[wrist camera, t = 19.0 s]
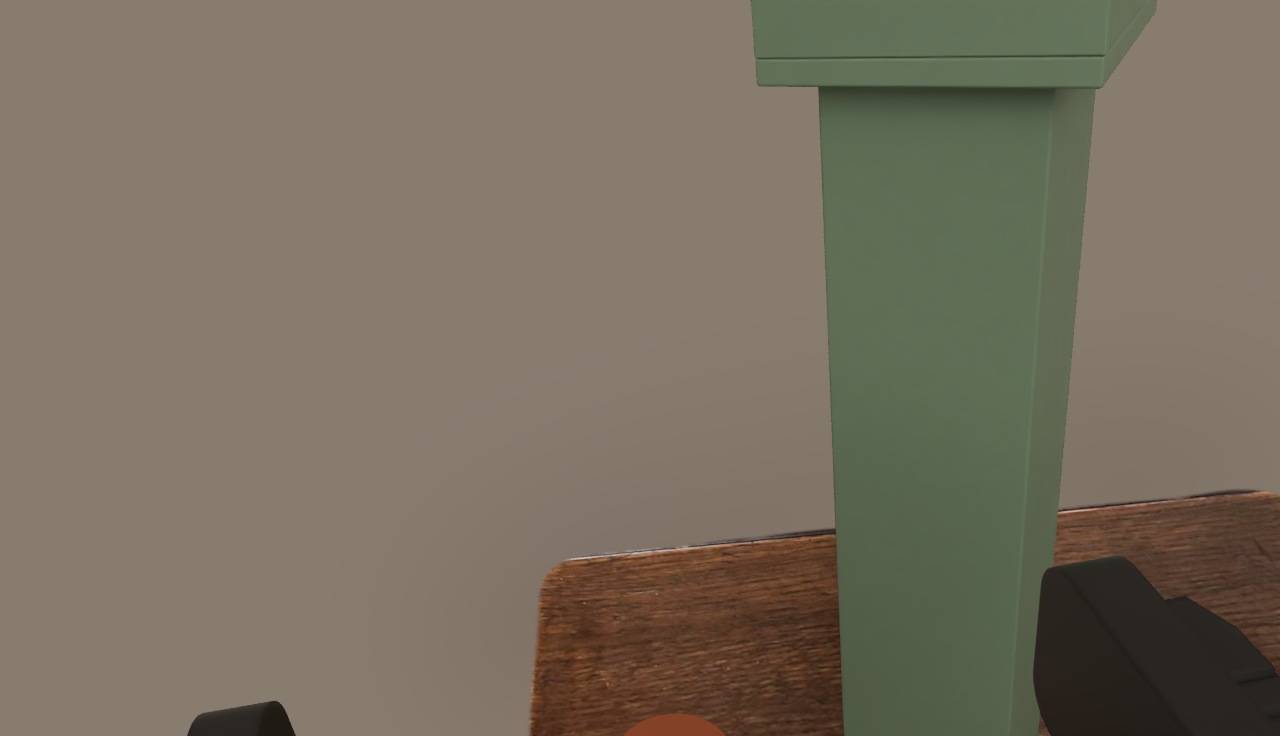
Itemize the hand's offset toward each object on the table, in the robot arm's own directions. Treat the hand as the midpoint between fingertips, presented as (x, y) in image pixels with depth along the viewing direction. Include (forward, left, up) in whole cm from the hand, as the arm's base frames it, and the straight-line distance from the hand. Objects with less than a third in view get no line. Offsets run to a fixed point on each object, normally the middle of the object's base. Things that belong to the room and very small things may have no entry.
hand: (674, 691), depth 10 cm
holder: (+17, +2, -26) cm, 31 cm away
